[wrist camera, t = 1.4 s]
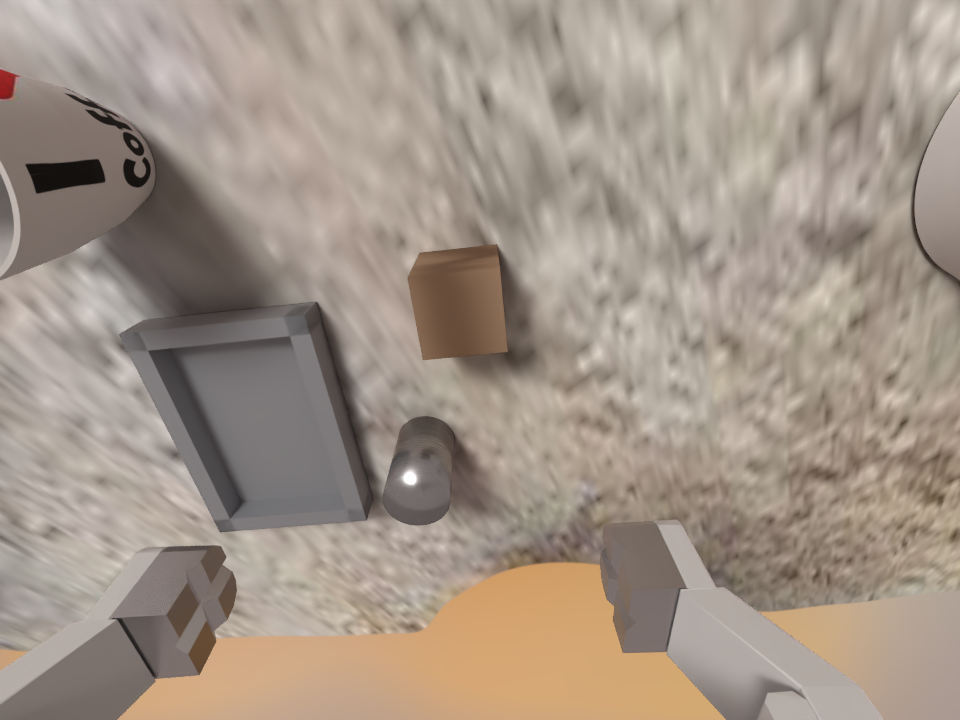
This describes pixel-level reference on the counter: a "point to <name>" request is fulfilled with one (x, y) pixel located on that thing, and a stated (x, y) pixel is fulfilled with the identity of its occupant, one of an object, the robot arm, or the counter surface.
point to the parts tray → (255, 414)
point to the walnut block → (458, 302)
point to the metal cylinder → (420, 472)
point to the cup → (63, 171)
